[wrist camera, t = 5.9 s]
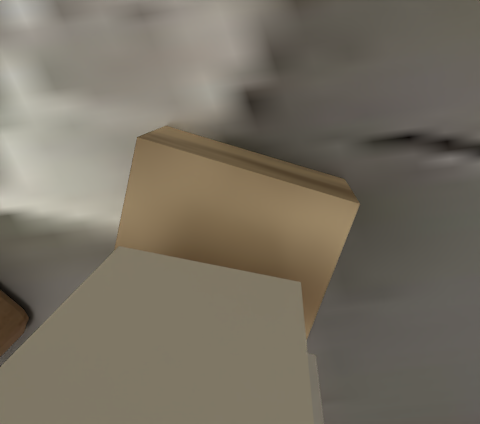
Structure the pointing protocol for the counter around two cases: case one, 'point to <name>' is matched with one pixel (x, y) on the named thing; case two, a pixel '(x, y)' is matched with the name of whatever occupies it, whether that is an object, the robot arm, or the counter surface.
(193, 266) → the cream block
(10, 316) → the wooden block
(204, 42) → the counter surface
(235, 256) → the oak base
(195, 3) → the counter surface
